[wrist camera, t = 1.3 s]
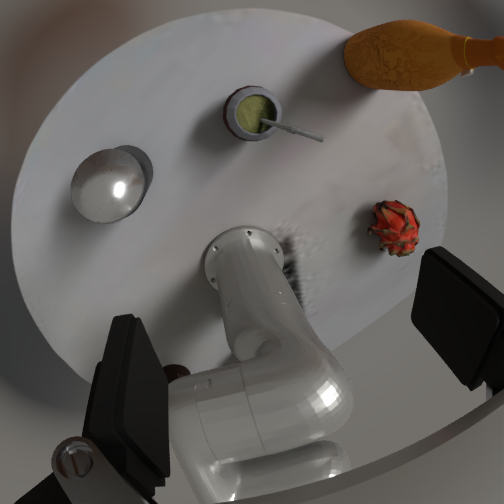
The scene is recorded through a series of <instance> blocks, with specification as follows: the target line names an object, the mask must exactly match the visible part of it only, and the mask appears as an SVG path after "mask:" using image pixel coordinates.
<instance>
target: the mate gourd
mask: <svg viewBox="0 0 504 504" xmlns="http://www.w3.org/2000/svg"><path fill="white" fill-rule="evenodd" d="M223 120H224V123H225V125H226V127H227V129H228V130H229V131H230V132H231V133H232V134H233V135H234V136H236V137H238V138H240V139H242V140H245V141H259V140H262V139H265V138H268V137H269V136H271V135H272V134H273V133H274V132H275V131H276V130H277V129H278V128H281V129H284V130H286V131H287V132H289V133H292V134H295V133H296V134H299V135H302V136H305V137H308V138H311V139H314V140H317V141H320V142H323V139H324V137H322V136H319V135H316V134H313V133H310V132H307V131H304V130H301V129H298V128H297V127H296V126H292V125H285V124H281V120H282V108H281V105H280V102H279V100H278V99H277V98H276V97H275V95H274V94H273V93H272V92H270V91H268V90H266V89H264V88H262V87H259V86H246V87H243V88H240V89H237V90H236V91H235V92H234V93H232V94H231V95H230V96H229V97H228V99H227V101H226V103H225V105H224V110H223Z"/></svg>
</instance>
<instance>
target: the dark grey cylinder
mask: <svg viewBox="0 0 504 504" xmlns="http://www.w3.org/2000/svg"><path fill="white" fill-rule="evenodd" d="M114 149H118V150H122V151H125V152H127V153H129V154H130V155H132V156H133V157H134V158H135V159H136V160H137V161H138V163H139V165H140V166H141V169H142V172H143V176H144V191H143V195H142V198H141V200H140V202H139V204H138V205H137V207H136V208H135V209H134V210H133V211H132V212H131V213H130V214H129V215H131V214H132V213H134V212H135V211H136V210H137V209H138V207H139V206H140V205H141V203H142V201H143V199H144V196H145V194H146V192H147V190H148V188H149V186H150V184H151V182H152V178H153V167H152V163H151V161H150V159H149V157H148V156H147V155H146V153H145V152H143V151H142V150H141V149H139V148H137V147H134V146H130V145H123V146H119V147H116V148H114ZM129 215H128V216H129Z"/></svg>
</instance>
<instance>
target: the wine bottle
mask: <svg viewBox="0 0 504 504" xmlns="http://www.w3.org/2000/svg"><path fill="white" fill-rule="evenodd" d="M344 61H345V65H346V67H347V70H348V71H349V73H350V75H351V76H352V77H353V78H354V79H355V80H356V81H357V82H358V83H360V84H362V85H363V86H366V87H369V88H373V89H383V90H398V91H423V90H428V89H432V88H434V87H437V86H439V85H442V84H444V83H446V82H447V81H449V80H450V79H452V78H453V77H455V76H456V75H458V74H459V73H461V77H464V76H468V75H472V74H473V70H474V69H475V68H476V67H479V66H499V67H500V68H501V69H502V70H504V37H502V36H497V37H495V38H494V39H493V40H482V39H472V38H470V37H467V36H461V35H456V34H453V33H451V32H448V31H446V30H444V29H441V28H439V27H437V26H434V25H431V24H428V23H425V22H420V21H415V20H398V21H393V22H388V23H385V24H381V25H378V26H375V27H372V28H369V29H366V30H363V31H361V32H359V33H357V34H355V35H353V36H352V37H351V38H350V39H349V40H348V42H347V43H346V46H345V49H344Z"/></svg>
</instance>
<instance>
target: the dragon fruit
mask: <svg viewBox="0 0 504 504" xmlns="http://www.w3.org/2000/svg"><path fill="white" fill-rule="evenodd" d="M379 205H382V207H381V206H379ZM372 213H373V214H374V217H375V216H377V218H378V223H377V224H375V225H373V224H371V226H370V227H369V228H368V229H367V232H368V235H369V236H370V235H371V234H372V232H373V231H374V234H377V235H379V236H380V237H381V238H382V239H381V240H380V243H379V249H380V250H381V251H383V250H384V249H382V247H388V252H389V255H391V256H392V255H395V254H396V255H397V256H398V257H401V256H406V255H409V253H410V254H411V253H412V252H414V250H415V245H417V244H418V242H419V237H418V232H419V231H418V229H419V227H420V221H419V220H418V219H417V217H416V215H415V213H414V210H413V209H412V208H410V207H407V206H406V205H404V204H402V203H401V202H399V201H397V200H395V201H383V202H381V203H380V202H378V203H376V205H375V206H374V209H373V212H372ZM375 218H376V217H375Z"/></svg>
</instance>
